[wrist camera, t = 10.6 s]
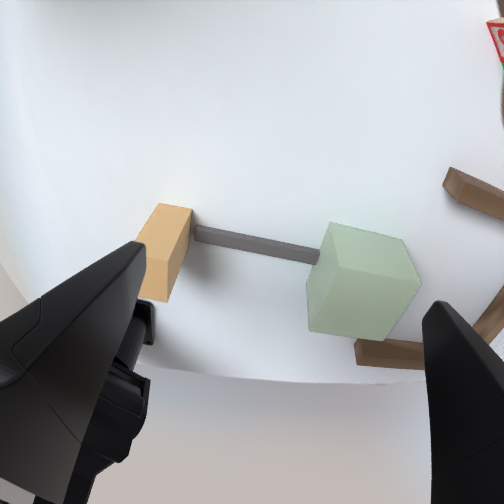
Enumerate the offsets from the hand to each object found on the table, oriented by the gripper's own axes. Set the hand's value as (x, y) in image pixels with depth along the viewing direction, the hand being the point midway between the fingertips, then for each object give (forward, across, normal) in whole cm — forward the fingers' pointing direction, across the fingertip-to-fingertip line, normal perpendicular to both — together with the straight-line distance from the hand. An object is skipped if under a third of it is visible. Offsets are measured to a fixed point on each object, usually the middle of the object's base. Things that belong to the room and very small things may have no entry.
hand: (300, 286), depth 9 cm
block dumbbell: (+13, -1, +8) cm, 15 cm away
